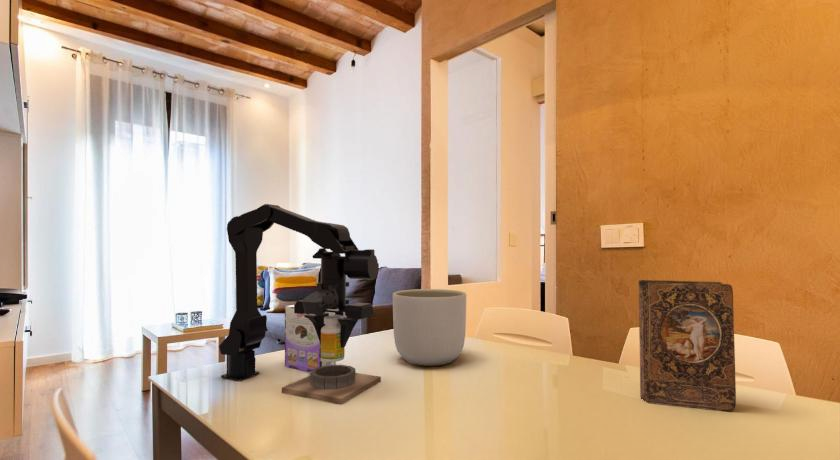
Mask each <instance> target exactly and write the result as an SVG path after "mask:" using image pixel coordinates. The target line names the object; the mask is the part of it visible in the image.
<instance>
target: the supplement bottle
mask: <svg viewBox="0 0 840 460" xmlns="http://www.w3.org/2000/svg"><path fill="white" fill-rule="evenodd" d="M340 318H343V316H340V315H336V316H326V317H324V324H325V326H323V327H322V328H321V360H322V361H325V362H335V363H336V362H341V361H343V360H344V359H345V347H346V346H345V347H344V348H341V325H340V323H339V321H338V319H340Z"/></svg>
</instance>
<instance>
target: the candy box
mask: <svg viewBox="0 0 840 460" xmlns="http://www.w3.org/2000/svg"><path fill="white" fill-rule="evenodd" d="M294 305H295V304H290V305H284V367H285V368H291V369H295V370H299V371H300V370H301V371H304V372H305V371H306V372H309V373H311V371H312V370H313V369H315V368H318V367H321V366H327V365H337V364H336V362H325V361H322V360H321V344H320V341H319V338H318V336H317V333H316V330H315V327H314V325H313V323H312V322H311V321H310V320H309V319H308V318H305V317H304V315H306V314H297V313H294ZM326 313H329V316H337V315H336V314H337V313H333V312H326Z"/></svg>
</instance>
